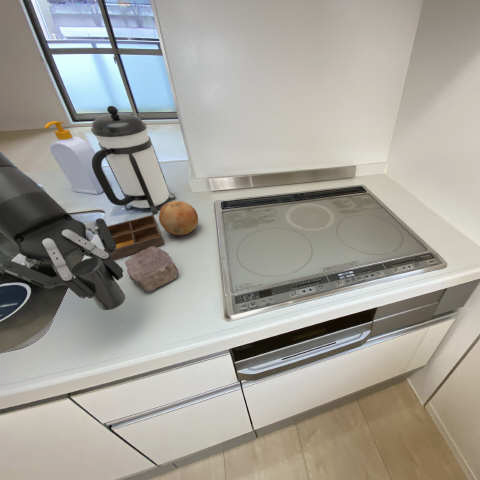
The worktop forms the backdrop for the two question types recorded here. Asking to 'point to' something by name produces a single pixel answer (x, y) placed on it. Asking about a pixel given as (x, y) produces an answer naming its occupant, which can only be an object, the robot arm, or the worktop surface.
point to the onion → (178, 217)
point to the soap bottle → (75, 160)
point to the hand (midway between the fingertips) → (106, 286)
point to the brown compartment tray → (135, 236)
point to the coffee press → (128, 161)
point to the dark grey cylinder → (99, 283)
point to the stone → (151, 268)
